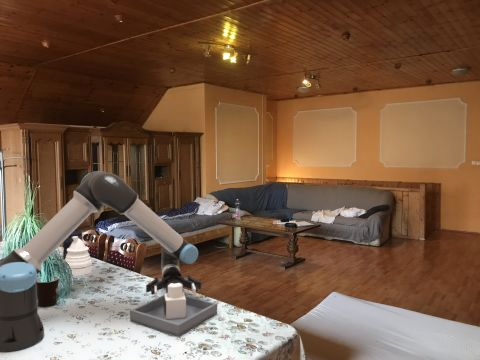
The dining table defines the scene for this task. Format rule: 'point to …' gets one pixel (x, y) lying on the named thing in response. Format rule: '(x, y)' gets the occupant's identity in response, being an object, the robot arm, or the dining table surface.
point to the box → (156, 320)
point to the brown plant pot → (47, 292)
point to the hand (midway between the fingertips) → (175, 294)
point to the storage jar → (70, 241)
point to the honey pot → (78, 258)
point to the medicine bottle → (174, 301)
